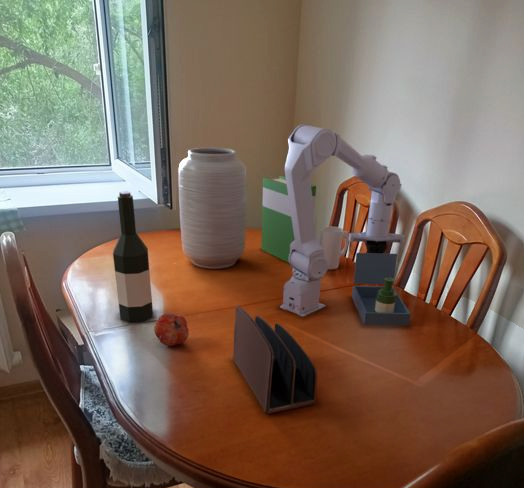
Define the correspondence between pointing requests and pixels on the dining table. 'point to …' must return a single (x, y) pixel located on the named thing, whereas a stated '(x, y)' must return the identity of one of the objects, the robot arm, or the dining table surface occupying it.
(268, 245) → the hardback book
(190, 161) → the vase
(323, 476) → the dining table surface
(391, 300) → the bottle
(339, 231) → the mug
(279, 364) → the letter holder
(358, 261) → the flap
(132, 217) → the wine bottle
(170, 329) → the pomegranate
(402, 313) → the tray
